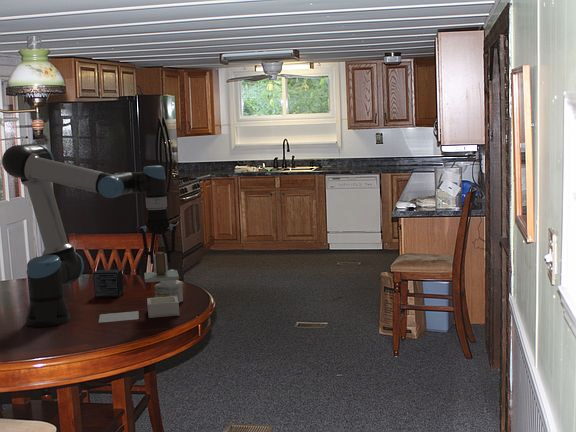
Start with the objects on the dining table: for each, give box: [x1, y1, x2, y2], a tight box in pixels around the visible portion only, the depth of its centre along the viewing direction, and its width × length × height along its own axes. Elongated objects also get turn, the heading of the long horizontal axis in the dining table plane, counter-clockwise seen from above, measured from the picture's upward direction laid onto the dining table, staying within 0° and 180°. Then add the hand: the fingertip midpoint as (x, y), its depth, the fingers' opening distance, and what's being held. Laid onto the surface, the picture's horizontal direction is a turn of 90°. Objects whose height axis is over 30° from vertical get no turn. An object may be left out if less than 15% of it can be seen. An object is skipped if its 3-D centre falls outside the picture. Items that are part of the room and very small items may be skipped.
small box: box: [92, 269, 125, 299], centre depth 317 cm, size 11×6×10 cm, turn 84°
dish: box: [146, 296, 180, 319], centre depth 284 cm, size 11×11×5 cm
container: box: [154, 268, 184, 304], centre depth 300 cm, size 8×8×13 cm
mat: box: [98, 310, 140, 324], centre depth 282 cm, size 14×12×1 cm
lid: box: [144, 251, 180, 283], centre depth 282 cm, size 12×12×9 cm
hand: (161, 272), depth 283 cm, fingers closed on lid, 3 cm apart
